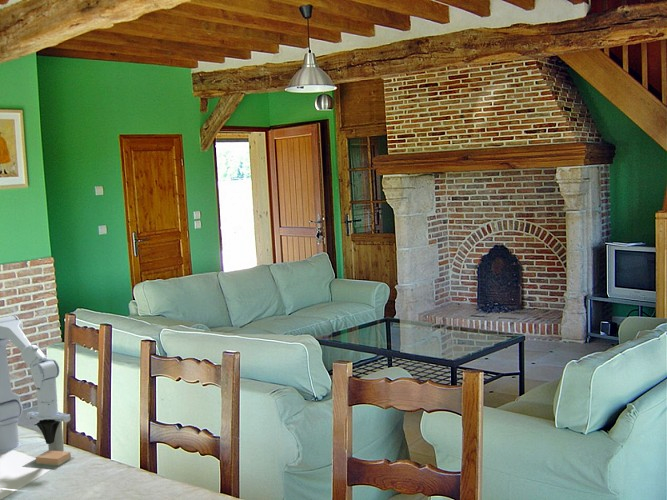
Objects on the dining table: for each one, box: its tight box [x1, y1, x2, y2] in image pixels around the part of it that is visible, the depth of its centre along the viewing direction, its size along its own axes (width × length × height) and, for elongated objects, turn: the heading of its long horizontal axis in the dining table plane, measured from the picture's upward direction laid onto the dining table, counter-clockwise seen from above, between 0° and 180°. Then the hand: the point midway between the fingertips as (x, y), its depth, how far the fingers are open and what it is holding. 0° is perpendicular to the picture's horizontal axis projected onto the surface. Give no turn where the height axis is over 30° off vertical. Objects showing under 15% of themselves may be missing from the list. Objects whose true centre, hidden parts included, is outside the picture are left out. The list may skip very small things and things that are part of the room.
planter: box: [47, 421, 65, 452], centre depth 239 cm, size 4×4×10 cm
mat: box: [21, 456, 76, 471], centre depth 230 cm, size 12×10×1 cm
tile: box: [35, 449, 72, 466], centre depth 230 cm, size 2×6×8 cm
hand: (50, 442), depth 230 cm, fingers closed
